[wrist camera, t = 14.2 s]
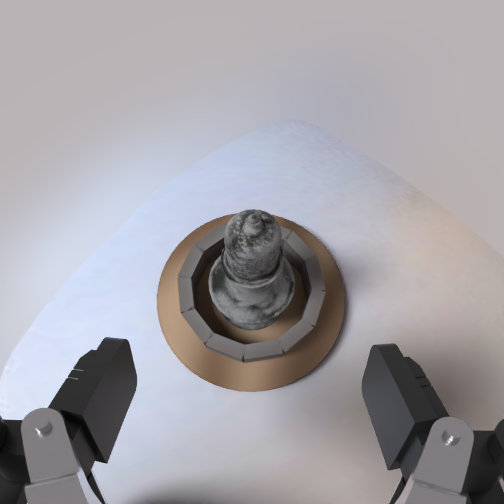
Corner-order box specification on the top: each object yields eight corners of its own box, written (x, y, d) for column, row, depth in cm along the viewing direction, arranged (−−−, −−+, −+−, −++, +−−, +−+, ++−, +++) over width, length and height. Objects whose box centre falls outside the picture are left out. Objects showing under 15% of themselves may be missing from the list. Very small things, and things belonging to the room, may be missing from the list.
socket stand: (358, 251, 28) (371, 231, 25) (307, 417, 22) (317, 420, 19) (204, 199, 30) (200, 175, 27) (132, 347, 24) (115, 338, 21)
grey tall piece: (303, 311, 25) (344, 240, 14) (235, 347, 24) (223, 303, 13) (265, 250, 27) (276, 149, 16) (201, 282, 26) (168, 194, 15)
